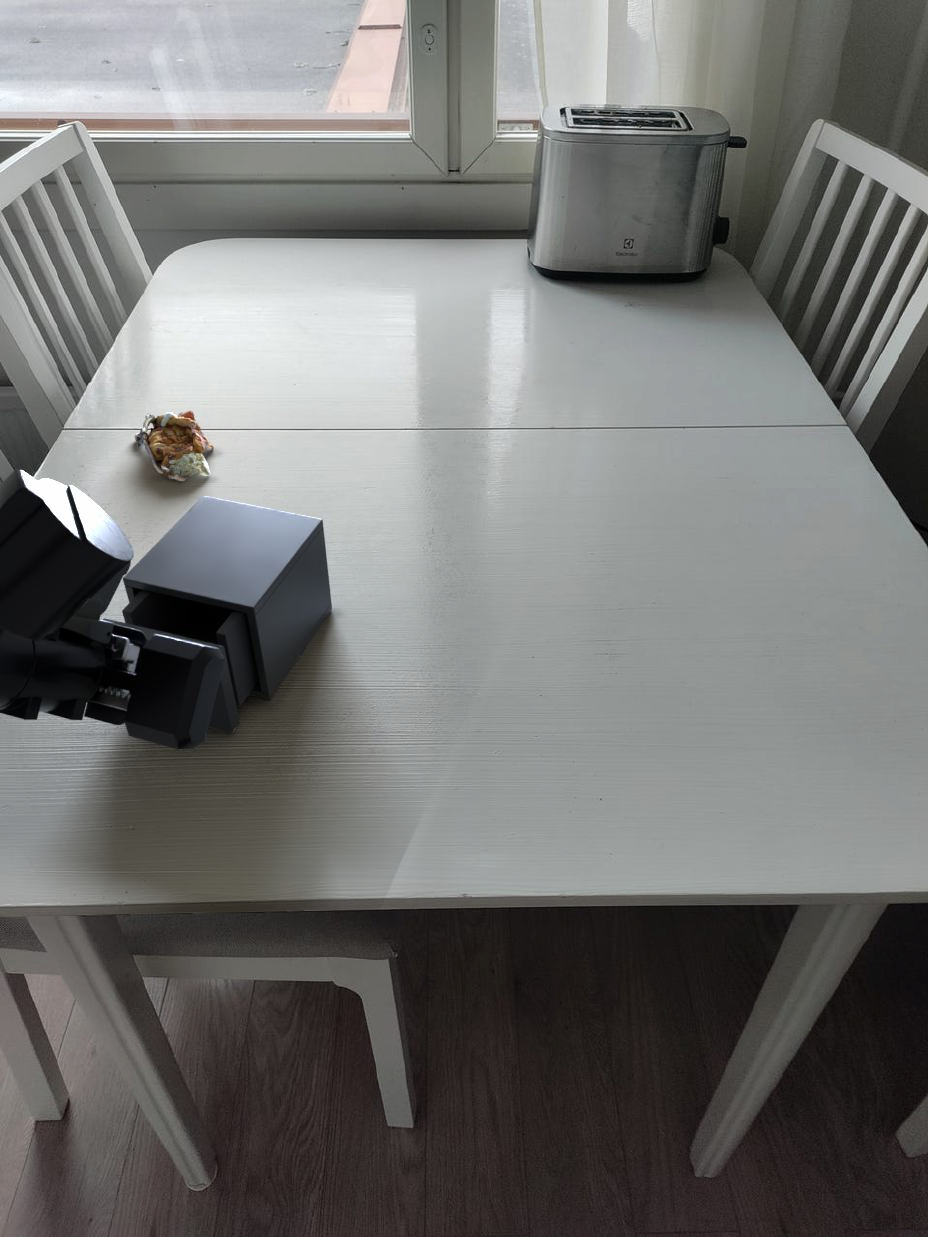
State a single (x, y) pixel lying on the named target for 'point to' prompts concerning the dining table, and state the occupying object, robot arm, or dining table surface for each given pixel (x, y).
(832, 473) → the dining table surface
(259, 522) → the dark grey box
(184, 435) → the pastry
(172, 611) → the fryer drawer
